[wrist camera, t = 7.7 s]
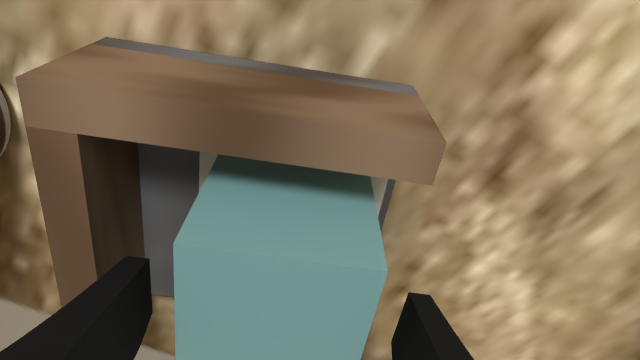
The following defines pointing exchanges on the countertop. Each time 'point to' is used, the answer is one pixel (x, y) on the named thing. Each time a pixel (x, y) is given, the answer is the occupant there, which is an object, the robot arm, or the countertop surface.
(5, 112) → the supplement bottle
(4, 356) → the robot arm
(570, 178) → the countertop surface
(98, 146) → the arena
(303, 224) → the teal block
